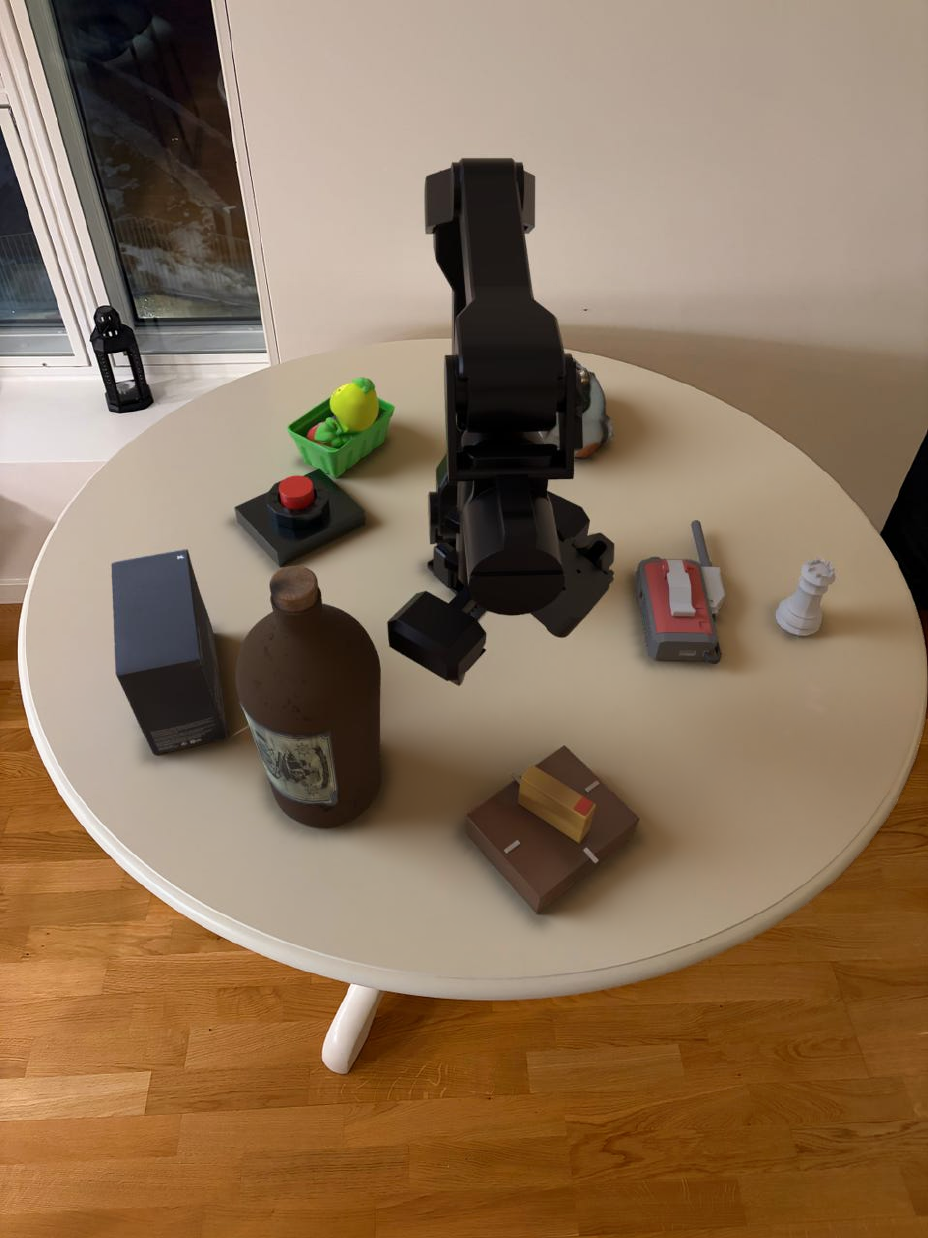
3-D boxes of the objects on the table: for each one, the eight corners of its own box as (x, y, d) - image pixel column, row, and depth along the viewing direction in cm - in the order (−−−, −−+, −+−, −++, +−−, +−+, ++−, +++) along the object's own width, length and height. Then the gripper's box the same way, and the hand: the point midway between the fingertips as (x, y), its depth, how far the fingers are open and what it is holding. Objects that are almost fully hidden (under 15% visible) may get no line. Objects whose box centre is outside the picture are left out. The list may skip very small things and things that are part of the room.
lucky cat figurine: (621, 461, 108) (594, 396, 96) (526, 490, 111) (489, 430, 99) (600, 363, 114) (572, 289, 102) (510, 392, 117) (473, 325, 105)
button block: (321, 482, 104) (317, 455, 101) (365, 524, 100) (363, 497, 97) (237, 521, 100) (231, 494, 97) (279, 568, 95) (274, 540, 92)
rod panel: (556, 758, 80) (559, 739, 78) (639, 841, 75) (645, 822, 73) (460, 827, 76) (461, 808, 73) (541, 920, 70) (545, 903, 68)
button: (303, 483, 99) (301, 470, 97) (321, 500, 97) (319, 488, 95) (274, 496, 97) (272, 483, 96) (292, 514, 95) (290, 501, 94)
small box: (142, 646, 88) (108, 559, 79) (214, 632, 89) (189, 545, 80) (150, 758, 79) (114, 674, 70) (229, 740, 81) (203, 656, 72)
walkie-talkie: (737, 672, 87) (702, 530, 100) (750, 643, 84) (711, 500, 97) (647, 670, 87) (623, 529, 100) (656, 641, 84) (630, 498, 97)
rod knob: (517, 803, 74) (520, 776, 71) (527, 789, 75) (532, 762, 71) (579, 844, 71) (586, 817, 68) (589, 829, 72) (596, 802, 69)
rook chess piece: (820, 641, 90) (847, 587, 84) (774, 634, 91) (798, 579, 85) (817, 609, 93) (843, 554, 87) (773, 602, 93) (796, 547, 87)
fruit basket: (351, 417, 113) (344, 336, 104) (407, 444, 109) (405, 363, 101) (288, 463, 106) (275, 381, 98) (345, 493, 103) (337, 411, 95)
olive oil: (302, 714, 83) (263, 510, 64) (407, 751, 80) (399, 551, 62) (242, 809, 76) (178, 614, 57) (355, 853, 74) (328, 664, 55)
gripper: (522, 643, 54) (506, 777, 66) (666, 478, 64) (630, 621, 76) (377, 562, 58) (387, 702, 70) (534, 419, 68) (519, 563, 80)
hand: (488, 645), depth 74 cm, fingers open, 9 cm apart
